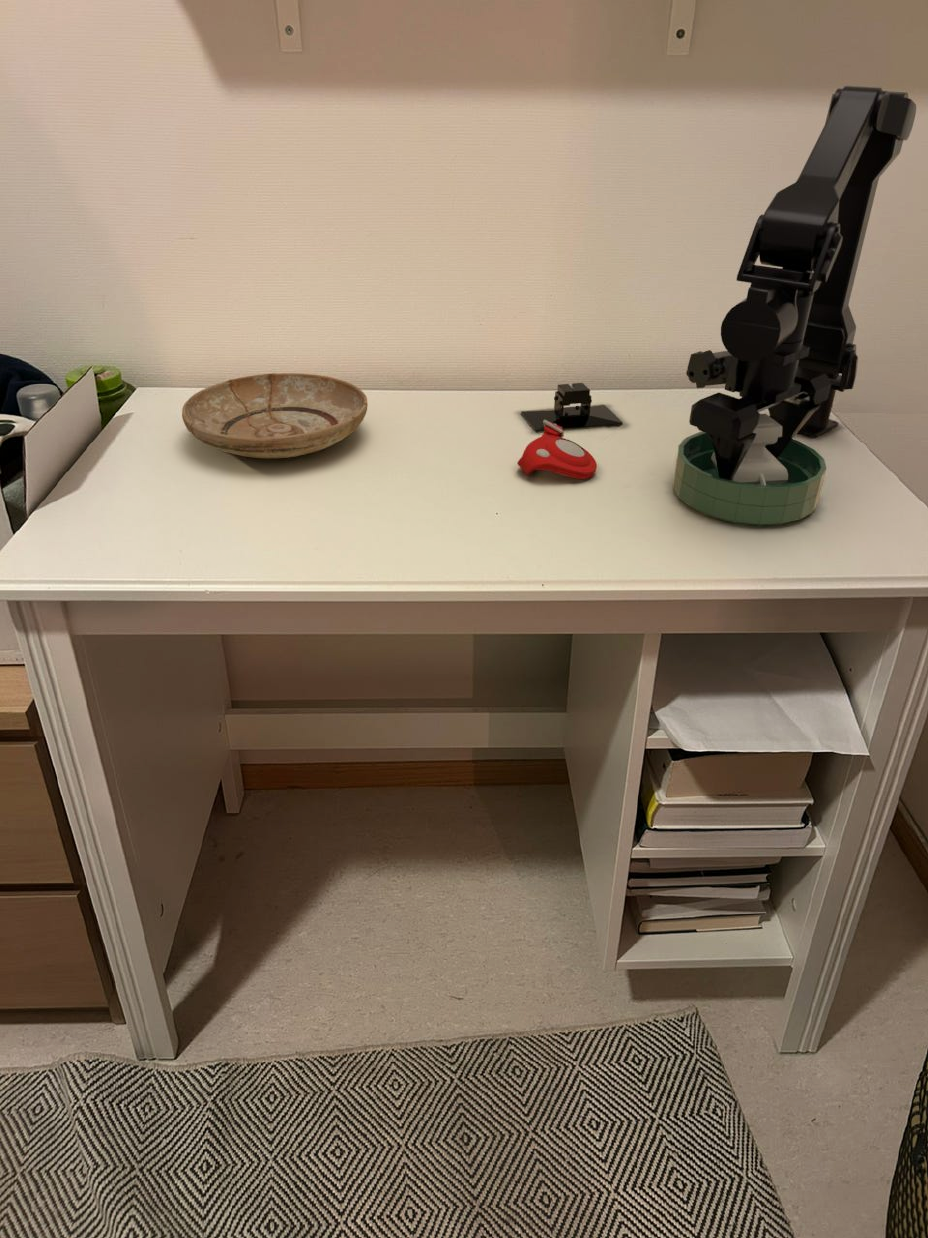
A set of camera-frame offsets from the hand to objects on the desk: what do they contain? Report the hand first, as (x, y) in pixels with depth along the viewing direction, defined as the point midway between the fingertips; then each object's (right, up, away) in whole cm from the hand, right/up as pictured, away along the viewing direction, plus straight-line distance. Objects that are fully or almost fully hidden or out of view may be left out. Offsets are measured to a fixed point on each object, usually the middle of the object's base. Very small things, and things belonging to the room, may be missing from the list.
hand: (748, 471), depth 105 cm
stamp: (0, -2, +1) cm, 2 cm away
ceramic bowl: (-57, +6, +14) cm, 59 cm away
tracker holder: (-21, +2, +8) cm, 23 cm away
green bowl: (0, -3, +2) cm, 3 cm away
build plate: (-18, +10, +21) cm, 29 cm away
